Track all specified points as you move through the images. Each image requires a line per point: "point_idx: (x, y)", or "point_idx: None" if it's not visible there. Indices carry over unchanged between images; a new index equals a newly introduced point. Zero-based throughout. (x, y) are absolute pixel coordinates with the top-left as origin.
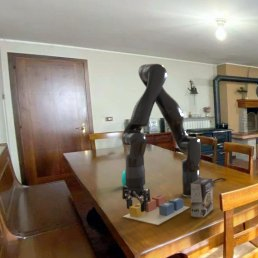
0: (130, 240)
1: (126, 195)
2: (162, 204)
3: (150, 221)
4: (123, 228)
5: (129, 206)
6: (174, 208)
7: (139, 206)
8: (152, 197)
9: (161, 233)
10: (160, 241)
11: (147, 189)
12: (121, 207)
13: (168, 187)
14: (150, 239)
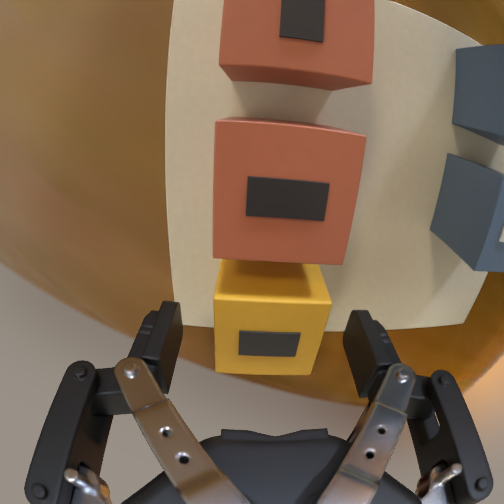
0: None
1: (67, 386)
2: (492, 243)
3: (417, 317)
4: (307, 384)
5: (177, 339)
6: (498, 142)
7: (306, 347)
8: (228, 63)
9: (480, 345)
10: (482, 369)
11: (475, 501)
12: (18, 202)
13: None
14: (455, 378)
